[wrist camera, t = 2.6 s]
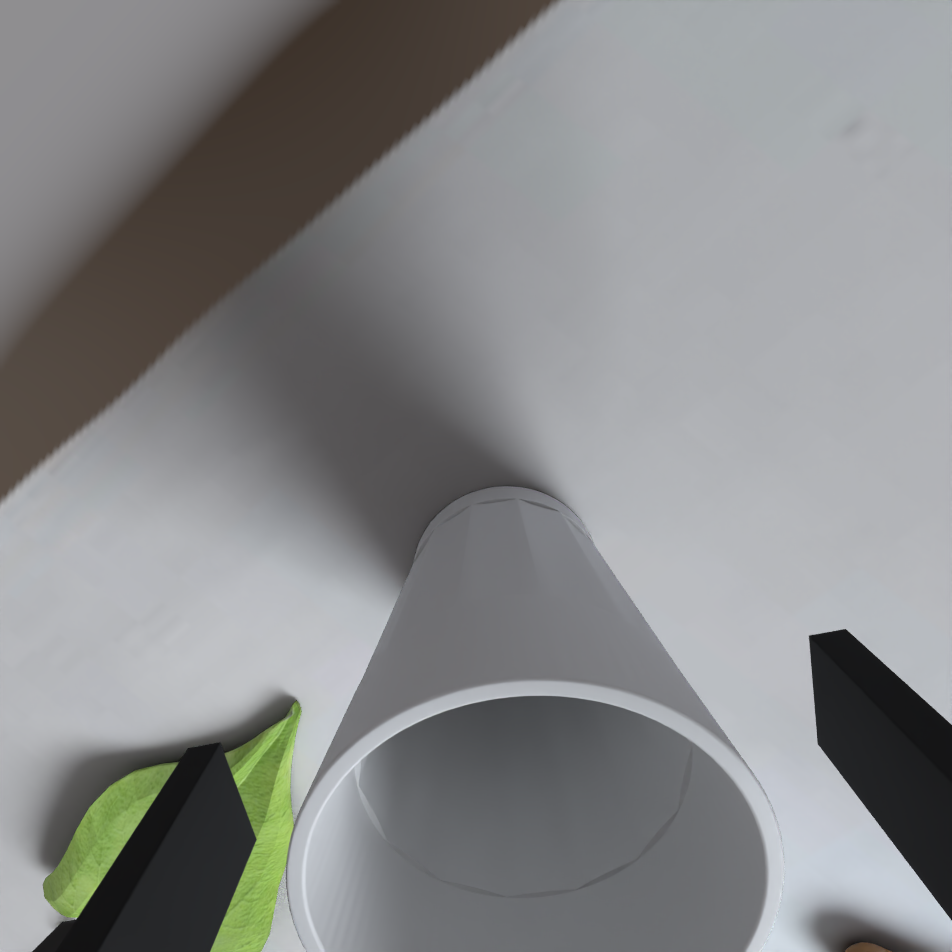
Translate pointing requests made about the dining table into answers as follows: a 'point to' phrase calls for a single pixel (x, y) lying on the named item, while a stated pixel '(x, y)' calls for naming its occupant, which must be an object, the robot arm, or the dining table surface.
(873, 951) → the dowel
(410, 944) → the cup
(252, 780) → the leaf
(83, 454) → the dining table surface
